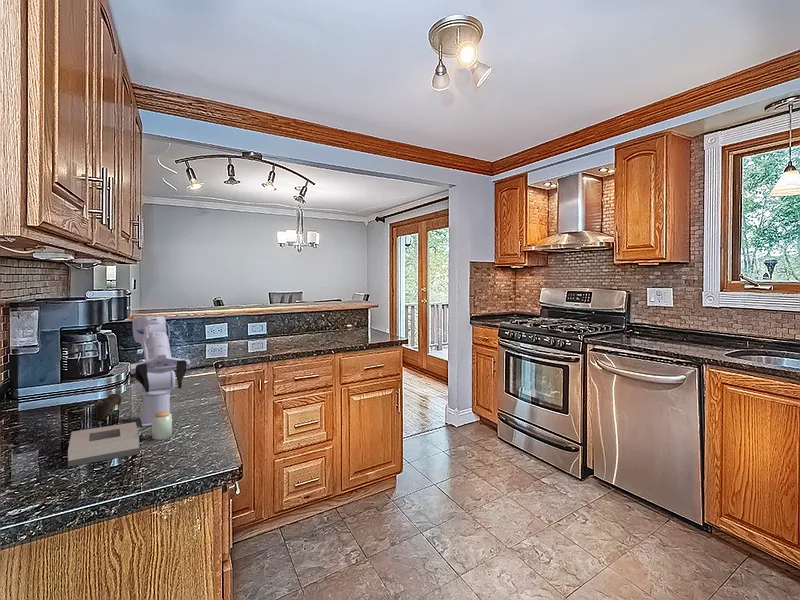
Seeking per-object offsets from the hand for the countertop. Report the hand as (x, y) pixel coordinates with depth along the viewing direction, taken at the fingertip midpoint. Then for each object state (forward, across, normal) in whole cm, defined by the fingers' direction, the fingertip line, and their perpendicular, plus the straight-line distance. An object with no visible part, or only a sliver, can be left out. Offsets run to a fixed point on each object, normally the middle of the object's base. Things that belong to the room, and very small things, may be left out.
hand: (164, 387), depth 111 cm
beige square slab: (+6, -13, +14) cm, 20 cm away
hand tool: (-23, -12, +34) cm, 43 cm away
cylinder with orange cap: (+4, 0, +15) cm, 16 cm away
